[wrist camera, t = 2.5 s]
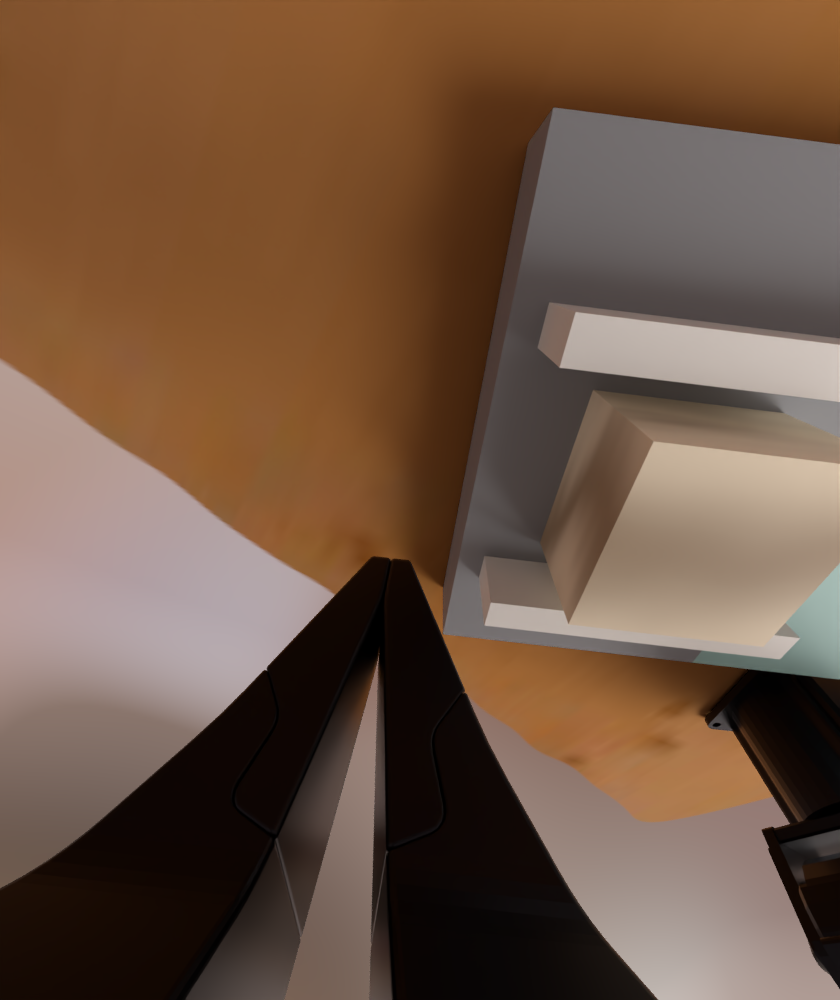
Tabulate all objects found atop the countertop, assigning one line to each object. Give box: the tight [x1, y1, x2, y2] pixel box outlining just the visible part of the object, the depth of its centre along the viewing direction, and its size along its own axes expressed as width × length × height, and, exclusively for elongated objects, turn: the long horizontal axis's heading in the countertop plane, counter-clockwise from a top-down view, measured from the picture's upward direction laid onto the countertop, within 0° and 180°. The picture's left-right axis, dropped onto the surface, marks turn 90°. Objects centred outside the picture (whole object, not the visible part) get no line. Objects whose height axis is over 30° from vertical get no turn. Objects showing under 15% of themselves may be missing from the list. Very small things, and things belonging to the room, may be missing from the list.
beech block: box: [540, 390, 840, 647], centre depth 12 cm, size 6×6×4 cm
